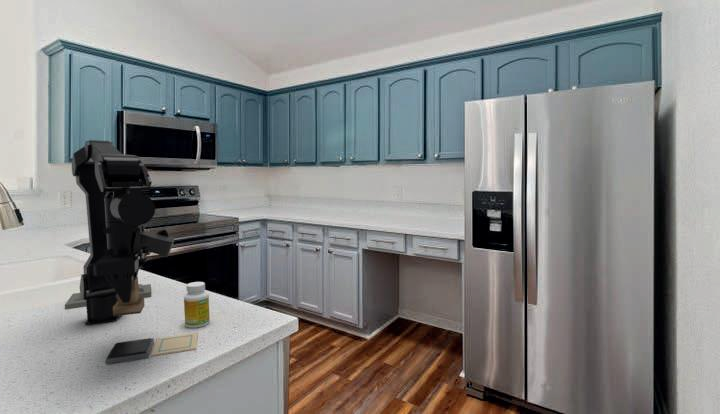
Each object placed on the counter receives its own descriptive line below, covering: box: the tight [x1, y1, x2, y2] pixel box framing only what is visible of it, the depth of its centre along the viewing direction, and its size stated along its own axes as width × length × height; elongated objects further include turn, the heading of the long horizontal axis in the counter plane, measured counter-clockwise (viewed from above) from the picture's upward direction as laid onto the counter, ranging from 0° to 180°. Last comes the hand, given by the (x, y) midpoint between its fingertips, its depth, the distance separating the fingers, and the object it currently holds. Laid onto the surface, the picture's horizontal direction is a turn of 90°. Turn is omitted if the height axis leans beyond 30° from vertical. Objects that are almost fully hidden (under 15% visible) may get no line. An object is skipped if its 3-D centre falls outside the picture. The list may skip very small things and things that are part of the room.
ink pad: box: [105, 337, 155, 365], centre depth 75 cm, size 7×7×1 cm
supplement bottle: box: [183, 281, 210, 329], centre depth 89 cm, size 5×5×10 cm
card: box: [151, 332, 199, 357], centre depth 79 cm, size 8×8×1 cm
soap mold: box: [64, 283, 152, 310], centre depth 108 cm, size 10×20×4 cm, turn 119°
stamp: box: [113, 276, 145, 317], centre depth 74 cm, size 4×4×6 cm
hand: (128, 299), depth 74 cm, fingers closed on stamp, 3 cm apart
